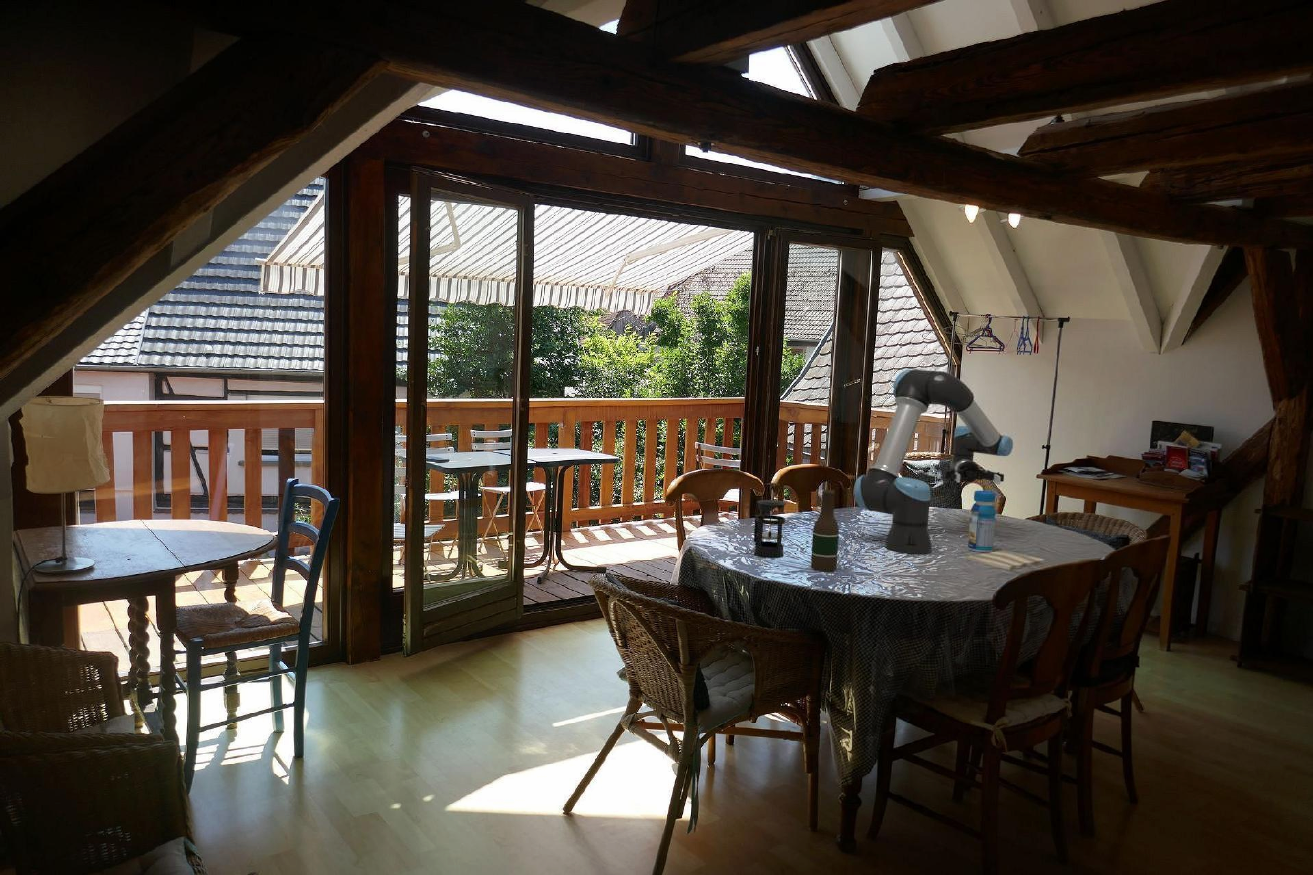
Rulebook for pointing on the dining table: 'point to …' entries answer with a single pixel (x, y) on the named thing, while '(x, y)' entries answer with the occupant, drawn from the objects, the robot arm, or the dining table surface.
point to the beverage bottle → (982, 522)
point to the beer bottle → (825, 536)
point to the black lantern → (766, 547)
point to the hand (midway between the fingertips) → (979, 479)
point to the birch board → (1005, 559)
